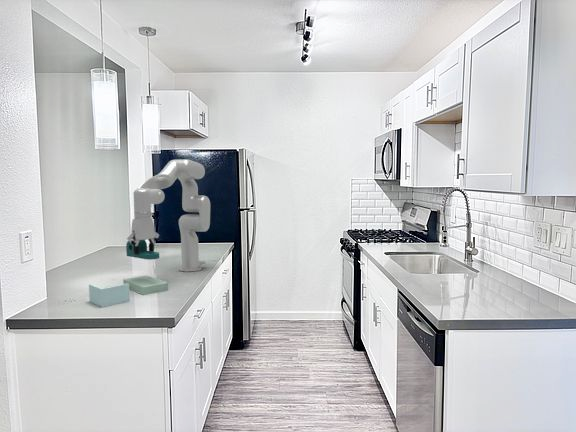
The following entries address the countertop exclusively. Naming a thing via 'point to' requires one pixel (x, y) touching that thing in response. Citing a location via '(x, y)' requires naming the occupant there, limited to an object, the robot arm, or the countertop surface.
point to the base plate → (146, 284)
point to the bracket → (141, 251)
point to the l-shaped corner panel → (109, 295)
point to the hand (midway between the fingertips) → (144, 252)
